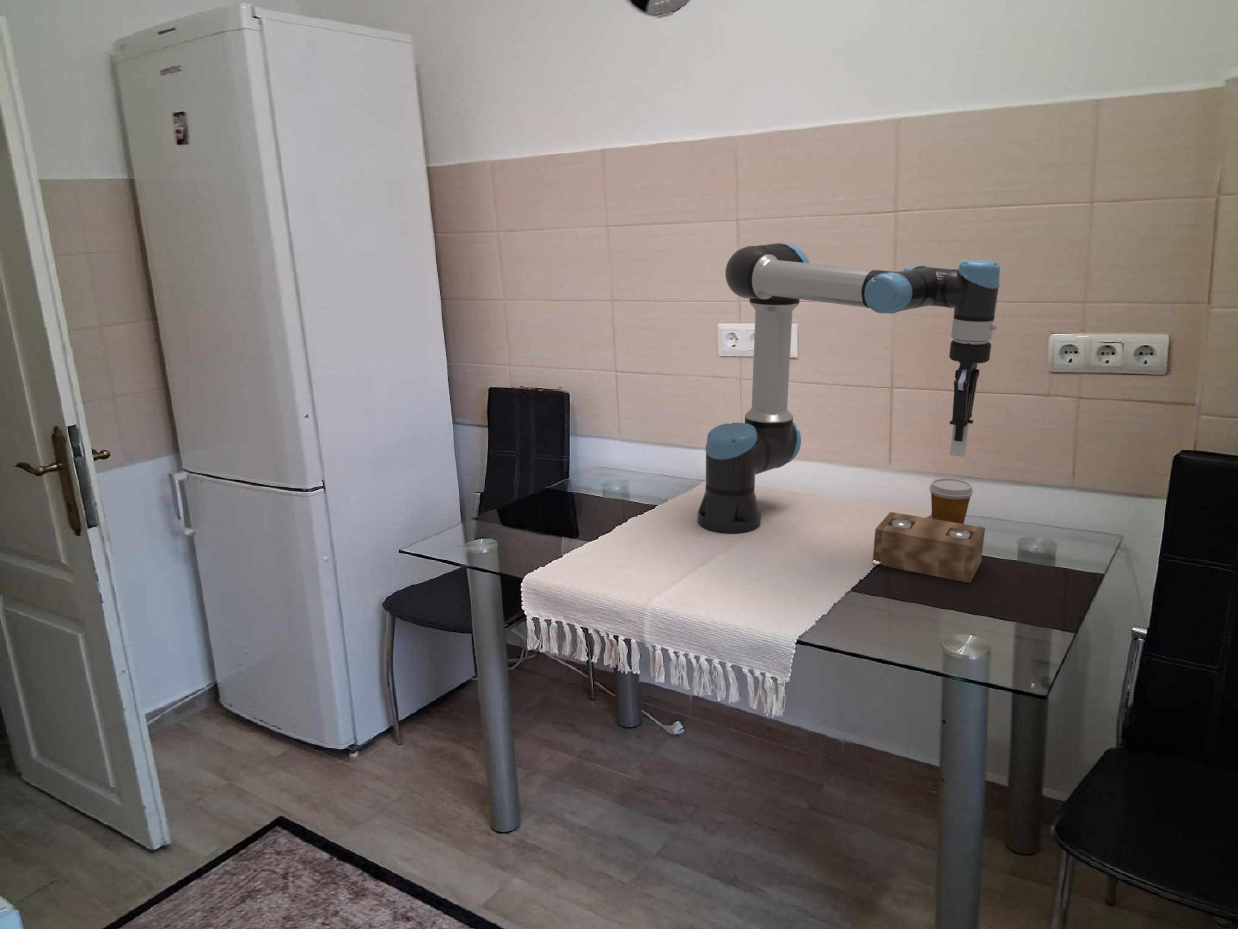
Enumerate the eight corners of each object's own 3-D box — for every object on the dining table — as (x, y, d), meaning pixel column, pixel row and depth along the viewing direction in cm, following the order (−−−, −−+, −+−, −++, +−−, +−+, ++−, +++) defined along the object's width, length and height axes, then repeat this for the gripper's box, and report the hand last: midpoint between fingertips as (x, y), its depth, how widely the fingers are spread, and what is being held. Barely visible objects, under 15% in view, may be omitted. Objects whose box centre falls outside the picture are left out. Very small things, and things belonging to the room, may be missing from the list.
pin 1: (887, 555, 197) (889, 523, 195) (891, 549, 200) (894, 518, 198) (905, 559, 195) (908, 527, 193) (910, 553, 198) (913, 521, 196)
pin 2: (944, 566, 191) (947, 534, 189) (948, 560, 195) (951, 527, 192) (964, 570, 189) (968, 537, 187) (968, 563, 193) (971, 531, 190)
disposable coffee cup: (966, 527, 215) (971, 479, 211) (970, 542, 206) (975, 492, 202) (924, 524, 217) (928, 476, 214) (925, 538, 208) (930, 489, 205)
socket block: (872, 563, 195) (875, 529, 193) (887, 545, 205) (890, 511, 203) (970, 583, 185) (974, 546, 183) (980, 562, 195) (985, 527, 193)
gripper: (985, 347, 172) (970, 466, 179) (996, 337, 183) (982, 449, 190) (944, 344, 176) (931, 460, 183) (958, 334, 186) (945, 444, 194)
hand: (957, 454), depth 186 cm, fingers closed
